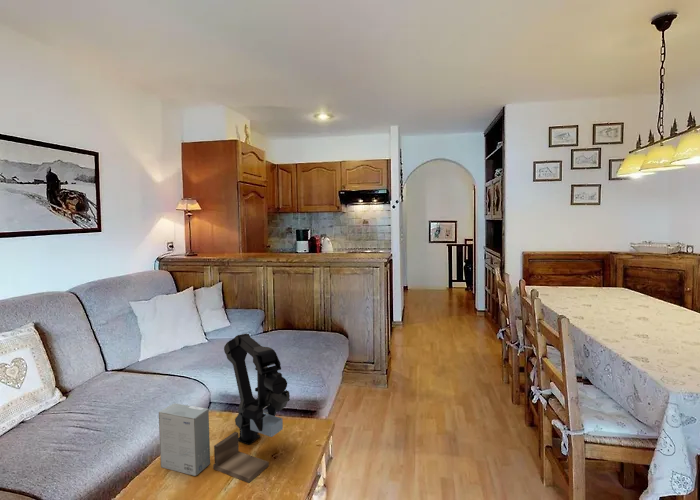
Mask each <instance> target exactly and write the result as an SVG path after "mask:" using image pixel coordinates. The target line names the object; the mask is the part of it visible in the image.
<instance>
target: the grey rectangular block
mask: <svg viewBox="0 0 700 500" xmlns="http://www.w3.org/2000/svg"><path fill="white" fill-rule="evenodd" d="M263 414H266V415H265V416H264V417H263V428H262V431H259V430H258V428H257V426H256V424H255V422H254V421H253V420H252V419H250V430H253V431H255V432H258V434H260V435H264V436H266V437H270V438H273V437H274V436H275V435H276V434H279V432H280V431H282V430H284V428H283V427H284V426H283V425H284V422H283V418H282V417H279V416H276V415H275V416H273V415H270V414H268V413H266V412H263Z"/></svg>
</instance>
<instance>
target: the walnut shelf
mask: <svg viewBox="0 0 700 500" xmlns="http://www.w3.org/2000/svg"><path fill="white" fill-rule="evenodd" d="M238 438H239V432H237V431H234V432H232V433H231V434H229V435H228V436H226V437H225V438H224V439H222V440H221V441H219V442H217V443H216V444H214V445H213V449H214V451H213V453H214V463H213V465H212V470H215V471H218V472H219V473H223V474H225V475H227V476H230V477H234V478H235V479H237V480H241V481H243V482H245V483H251V482H252V481H253V480H254V479H255V478H257V477H258V476H259V475H260V474H261V473H263V471H265V470H266V469H268V467H269V466H270V465H269V464H270V463H269V461H268V460H265V459H262V458H259V457H256V456H253V455H250V454H248V453H244V452H241V451H239V441H238Z"/></svg>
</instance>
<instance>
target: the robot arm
mask: <svg viewBox="0 0 700 500" xmlns="http://www.w3.org/2000/svg"><path fill="white" fill-rule="evenodd" d="M223 351H224V354H225V356H226V359H227V360H228V361H229V362H230V363H231V364H232V366H233V371H234V377H235V382H236V386H237V391H238V394H239V399H240V403H239V405H238V407H237V408H238V409H237V410H238V411H237V413H238V414H237V416H236V417H235V419H234V422H235V426H236V427H238V429H239V436H238V442H240V443H243V444H246V445H251V444H252V443H254V442H255V441H257V439H259V438H260V437H261V434H259V433H258V432H255V431H253V430H250V419H252V420H253V421H254V422H255V424H256V426H257V428H258V430H259V431H262V428H263V417H264V416H265V415H266V414H270V415H273V416H276V415H277V412H280V411H282V410H283V409H284V408H286V407H287V404H288V402H290V401H291V399H290V391H289V390H287V387H288V381H287V379H286V378H285V377H284V376H283V374H282V373H281V372H279V371H280V370H282V367H281V364H282V363H281V362H280V359H279V357H278V355H277V352H276V351H275V350H274V349H273V348H272V347H268V346H263V345H261V344H260V343H259V342H257V341H256V340H255V339H253V338H252V337H251V336H250V334H249V333H242V334H237V335H236V336H235V337H233V338H232V339H230V340H229V341H227V342H226V344H225V345H224V347H223ZM247 355H250V356H251V357H252V363H253V364H254V367H255V368H254V370H256V371H257V372H256V373H257V375H256V376H257V377H256V378H257V379H256V380H257V381H256V383H257V387H255V388H254V391H255V392H256V393H257V398H255V397H254V395H253V391H252V386H251V382H250V377H249V374H248V369H247V364H246V363H247V362H246V358H247ZM264 409H267V413H266V414H263V413H264Z"/></svg>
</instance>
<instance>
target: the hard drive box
mask: <svg viewBox="0 0 700 500" xmlns="http://www.w3.org/2000/svg"><path fill="white" fill-rule="evenodd" d="M209 413H210V411H209V408H206V407H199V406H193V405H188V404H187V405H186V404H181V403H172V404H170V405H169V406H167V407H165V408H163V409H161V410H160V411H159V412H158V426H159V427H158V428H159V429H158V430H159V431H158V432H159V452H160V453H159V455H160V457H159V458H160V468H163V469H167V470H169V471H173V472H178V473H182V474H185V475H188V476H189V475H190V476H193V477H196V476H198V475H199V474H200V473H202V471H204V470H205V469H206V468H207V467H208V466H210V465H211V445H210V444H211V442H210V440H211V439H210V418H209V417H210V416H209Z"/></svg>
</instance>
